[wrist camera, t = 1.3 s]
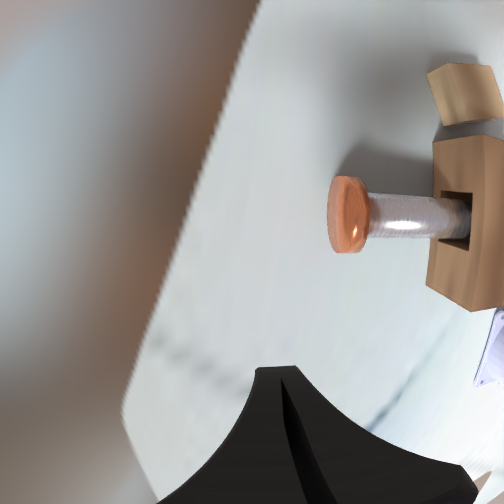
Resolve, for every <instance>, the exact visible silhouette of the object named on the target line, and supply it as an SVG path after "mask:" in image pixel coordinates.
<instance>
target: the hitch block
mask: <svg viewBox="0 0 504 504" xmlns="http://www.w3.org/2000/svg"><path fill="white" fill-rule="evenodd" d="M433 197H436V198H446V199H456V200H465V201H473V203H472V222H471V235H470V239H454V238H431V243H430V253H429V262H428V271H427V278H426V286H428V287H430V288H431V289H433V290H435V291H436V292H438V293H440V294H442V295H443V296H445V297H447V298H448V299H450V300H451V301H453V302H455V303H456V304H458V305H460V306H461V307H463V308H465V309H466V310H468V311H469V312H475V311H480V310H486V309H491V308H496V307H501V306H504V141H503V140H500V139H497V138H494V137H491V136H488V135H485V134H480V135H473V136H467V137H461V138H455V139H450V140H444V141H439V142H434V143H433Z"/></svg>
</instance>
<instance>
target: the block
mask: <svg viewBox="0 0 504 504" xmlns="http://www.w3.org/2000/svg"><path fill="white" fill-rule="evenodd" d="M426 76H427V79H428V82H429V84H430V87H431V90H432V93H433V96H434V99H435V102H436V105H437V108H438V111H439V114H440V117H441V121H442V124H443V126H451V125H458V124H467V123H476V122H485V121H490V120H495V119H501V118H504V104H503V100H502V97H501V94H500V91H499V88H498V85H497V82H496V79H495V77H494V74H493V71H492V69H491V66H486V65H474V64H458V63H446V64H444V65H442V66H441V67H439V68H437V69H435V70H433V71H431V72H429V73H428V74H426Z"/></svg>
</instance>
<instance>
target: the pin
mask: <svg viewBox="0 0 504 504" xmlns="http://www.w3.org/2000/svg"><path fill="white" fill-rule="evenodd" d="M472 203H473V201H465V200H456V199H446V198H436V197H425V196H413V195H400V194H385V193H368V192H367V190H366V187H365V185H364V183H363V181H362V180H361V179H360V178H359V177H353V176H336V177H335V178H334V179H333V181H332V183H331V186H330V190H329V195H328V204H327V225H328V234H329V239H330V243H331V245H332V248H333V250H334V251H335V252H336V253H358V252H360V251H361V250H362V248H363V247H364V245H365V242H366V240H367V238H454V239H470V235H471V222H472Z"/></svg>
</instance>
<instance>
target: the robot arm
mask: <svg viewBox="0 0 504 504" xmlns="http://www.w3.org/2000/svg"><path fill="white" fill-rule="evenodd" d="M494 380H496V381H497V382H498V383H499V384H500V385H501V386H502V387H503V388H504V310H502V311H498V312H497V313H496V314H495V317H494V321H493V325H492V328H491V332H490V335H489V339H488V342H487V346H486V349H485V352H484V355H483V358H482V361H481V364H480V367H479V370H478V373H477V375H476V378H475V381H474V386H475V387H479V386H481V385H484V384H487V383H489V382H492V381H494ZM478 492H479V491H478V489H477V487H476V485H475V484H474V482H473V481H472V479H471V478H470V476H469V475H468V474H467V472H466V471H465V470H464V468H463V467H462V466H461V465H456V464H451V463H447V462H442V461H438V460H434V459H430V458H426V457H423V456H420V455H418V454H415V453H412V452H409V451H406V450H404V449H402V448H399V447H397V446H395V445H393V444H391V443H389V442H387V441H385V440H383V439H381V438H379V437H377V436H375V435H373V434H372V433H370V432H368V431H367V430H365V429H363V428H362V427H360V426H359V425H357V424H356V423H354V422H353V421H352V420H350V419H349V418H348V417H346V416H345V415H344V414H343V413H342V412H340V411H339V410H338V409H337V408H336V407H335V406H333V405H332V404H331V403H330V402H329V401H328V400H327V399H326V398H325V397H324V396H323V395H322V394H321V393H320V392H319V391H318V390H317V389H316V388H315V387H314V386H313V385H312V384H311V383H310V381H309V380H308V379H307V378H306V377H305V376H304V374H303V373H302V372H301V371H300V370H299V368H298V367H296V366H279V367H258V368H257V369H256V370H255V378H254V382H253V386H252V389H251V392H250V394H249V397H248V399H247V402H246V404H245V406H244V408H243V410H242V412H241V414H240V416H239V418H238V419H237V421H236V423H235V425H234V426H233V428H232V430H231V431H230V433H229V434H228V436H227V437H226V438H225V440H224V441H223V443H222V444H221V445H220V447H219V448H218V449H217V450H216V451H215V453H214V454H213V455H212V456H211V457H210V459H209V460H208V461H207V462H206V463H205V464H204V465H203V466H202V467H201V468H200V469H199V470H198V471H197V472H196V473H195V474H194V475H193V476H192V477H190V478H189V479H188V480H187V481H186V482H185V483H184V484H183V485H181V486H180V487H179V488H178V489H176V490H175V491H174V492H172V493H171V494H170V495H168V496H167V497H165V498H164V499H162V500H161V501H160V502H158V503H157V504H473V503H474V501H475V500H476V497H477V495H478Z"/></svg>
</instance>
